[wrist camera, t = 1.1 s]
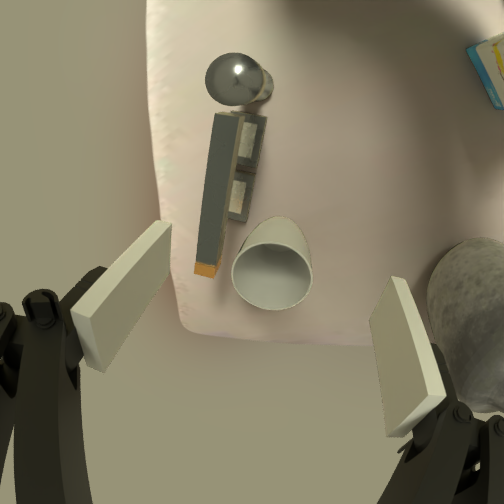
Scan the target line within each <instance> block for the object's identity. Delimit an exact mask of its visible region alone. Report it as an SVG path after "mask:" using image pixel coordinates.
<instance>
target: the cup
mask: <svg viewBox="0 0 504 504" xmlns="http://www.w3.org/2000/svg"><path fill="white" fill-rule="evenodd" d="M231 279H232V283H233V285H234V288H235V289H236V291H237V292H238V294H239V295H240V296H241V297H242V298H243V299H244V300H245V301H247V302H248V303H250V304H251V305H253V306H256V307H258V308H261V309H266V310H283V309H287V308H290V307H293V306H295V305H297V304H298V303H300V302H301V301H302V300H303V299H304V298H305V297H306V296H307V295H308V293H309V291H310V289H311V287H312V282H313V274H312V266H311V258H310V252H309V248H308V246H307V243H306V240H305V237H304V235H303V233H302V231H301V230H300V228H299V227H298V226H297V225H296V224H295V223H294V222H293V221H292V220H290V219H289V218H286V217H282V216H275V217H272V218H269V219H267V220H265V221H264V222H262V223H260V224H259V225H258V226H257V227H256V228H255V229H254V230H253V232H252V233H251V234H250V235H249V236H248V237H247V239H246V240H245V242H244V243H243V245H242V247H241V249H240V251H239V253H238V255H237V256H236V258H235V260H234V262H233V265H232V269H231Z"/></svg>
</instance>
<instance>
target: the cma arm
mask: <svg viewBox="0 0 504 504" xmlns="http://www.w3.org/2000/svg"><path fill="white" fill-rule="evenodd" d="M205 84H206V88H207V91H208V93H209V94H210V96H211V97H212V98H213V99H214V100H216V101H217V102H219V103H221V104H223V105H227V106H239V105H246V104H249V103H252V102H253V101H255V100H256V99H258V98H259V97H260V96H261V94H262V93H263V91H264V89H265V86H266V75H265V72H264V70H263V68H262V67H261V65H260V64H259V63H257V62H256V61H255V60H253V59H252V58H250V57H249V56H247V55H245V54H241V53H227V54H224V55H222V56H220V57H218V58H217V59H215V60H214V61H213V62H212V63H211V65H210V66H209V68H208V70H207V72H206V76H205ZM244 119H245V115H239V114H233V113H227V112H219V113H215V115H214V122H213V128H212V134H211V141H210V148H209V155H208V162H207V169H206V176H205V184H204V192H203V200H202V208H201V217H200V225H199V235H198V244H197V254H196V263H195V269H194V274H198V275H201V276H205V277H209V278H213V279H214V277H215V275H216V273H217V271H218V268H219V266H220V264H221V259H222V250H223V243H224V237H225V230H226V224H227V218H228V211H229V205H230V199H231V193H232V187H233V181H234V175H235V169H236V164H237V158H238V152H239V146H240V141H241V135H242V130H243V124H244Z"/></svg>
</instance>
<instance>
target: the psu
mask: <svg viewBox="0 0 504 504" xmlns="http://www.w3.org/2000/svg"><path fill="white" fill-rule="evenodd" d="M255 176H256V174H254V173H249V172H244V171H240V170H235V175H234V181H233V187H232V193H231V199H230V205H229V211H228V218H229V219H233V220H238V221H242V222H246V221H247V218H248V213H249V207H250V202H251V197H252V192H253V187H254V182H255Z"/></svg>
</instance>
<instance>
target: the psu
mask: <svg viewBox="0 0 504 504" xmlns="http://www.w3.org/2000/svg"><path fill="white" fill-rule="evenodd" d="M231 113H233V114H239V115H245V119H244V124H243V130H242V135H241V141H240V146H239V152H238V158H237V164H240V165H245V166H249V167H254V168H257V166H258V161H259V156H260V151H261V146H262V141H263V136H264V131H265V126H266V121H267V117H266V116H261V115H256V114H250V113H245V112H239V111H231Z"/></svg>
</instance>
